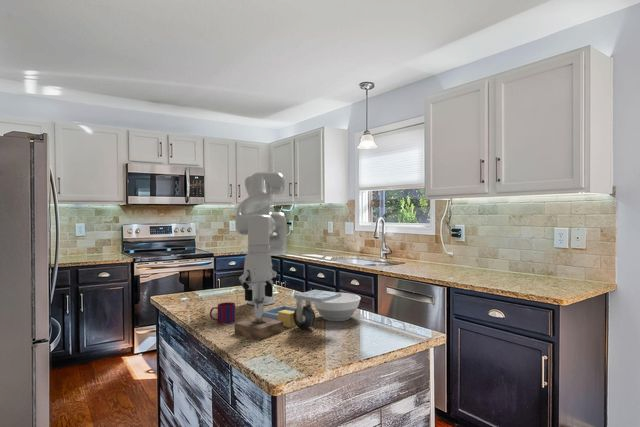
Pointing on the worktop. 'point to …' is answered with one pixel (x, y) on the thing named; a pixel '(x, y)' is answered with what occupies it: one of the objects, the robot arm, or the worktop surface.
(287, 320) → the block
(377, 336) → the worktop surface
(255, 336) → the socket block
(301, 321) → the caster wheel
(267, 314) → the tray
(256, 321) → the pin
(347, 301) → the bowl
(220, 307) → the mug
